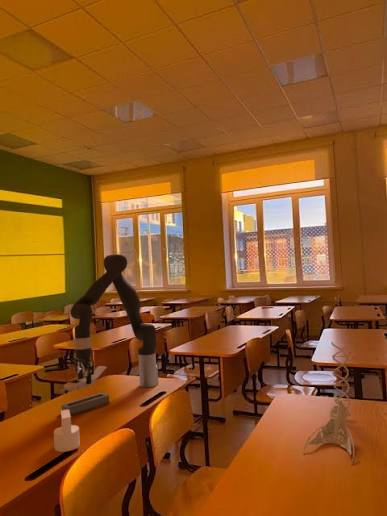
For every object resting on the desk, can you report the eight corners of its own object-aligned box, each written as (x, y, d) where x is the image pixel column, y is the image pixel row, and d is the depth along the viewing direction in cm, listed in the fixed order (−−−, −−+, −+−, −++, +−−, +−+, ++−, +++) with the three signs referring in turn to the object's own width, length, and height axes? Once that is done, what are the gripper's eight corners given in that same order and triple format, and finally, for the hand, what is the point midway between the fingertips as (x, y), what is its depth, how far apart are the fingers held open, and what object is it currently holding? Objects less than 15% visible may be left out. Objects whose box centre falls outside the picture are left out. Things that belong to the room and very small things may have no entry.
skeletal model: (301, 455, 136) (312, 387, 152) (308, 467, 142) (318, 400, 158) (352, 464, 128) (358, 392, 144) (357, 477, 133) (363, 405, 149)
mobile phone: (107, 366, 201) (68, 380, 180) (108, 378, 201) (68, 393, 179) (98, 365, 204) (58, 379, 183) (99, 377, 204) (59, 392, 183)
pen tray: (102, 400, 201) (101, 392, 201) (109, 403, 197) (108, 395, 197) (61, 413, 187) (61, 404, 187) (68, 416, 182) (68, 407, 182)
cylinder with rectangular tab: (54, 443, 155) (52, 412, 155) (78, 438, 158) (77, 407, 159) (55, 453, 147) (53, 420, 147) (80, 448, 150) (79, 415, 150)
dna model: (349, 411, 171) (345, 339, 171) (353, 417, 164) (349, 343, 164) (332, 412, 171) (328, 340, 172) (336, 418, 165) (332, 343, 165)
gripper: (98, 347, 189) (100, 383, 189) (82, 343, 200) (84, 378, 199) (83, 350, 184) (85, 387, 184) (68, 346, 194) (70, 381, 194)
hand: (84, 382), depth 192 cm, fingers closed on mobile phone, 6 cm apart
